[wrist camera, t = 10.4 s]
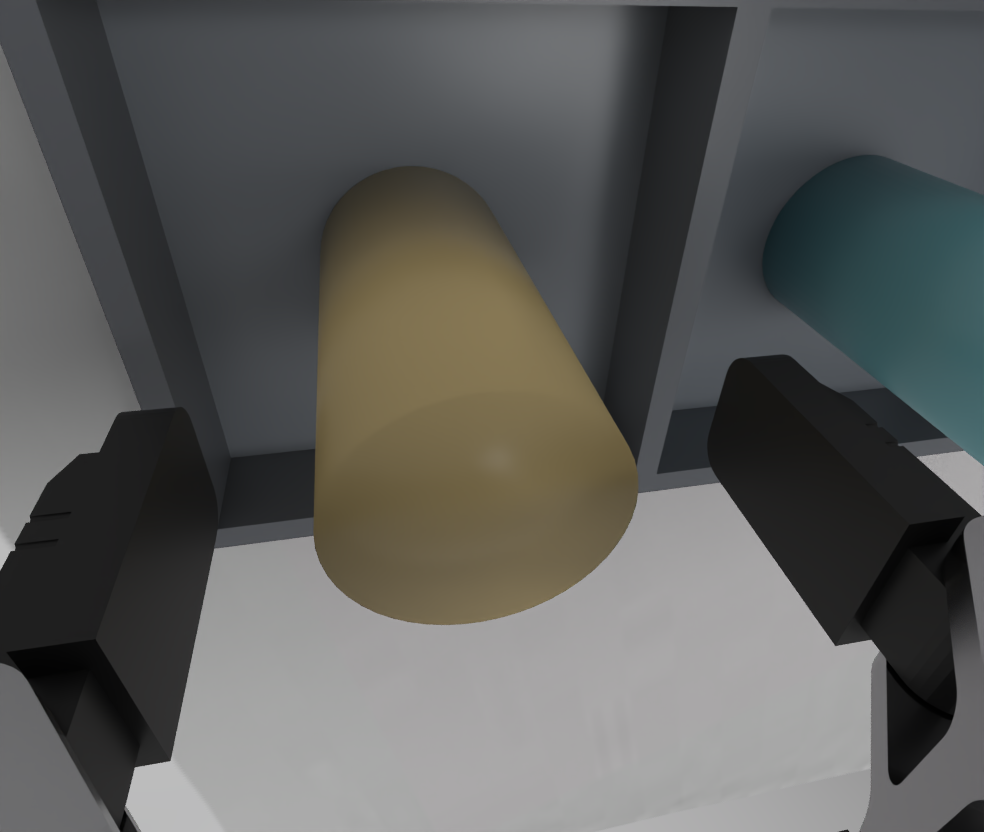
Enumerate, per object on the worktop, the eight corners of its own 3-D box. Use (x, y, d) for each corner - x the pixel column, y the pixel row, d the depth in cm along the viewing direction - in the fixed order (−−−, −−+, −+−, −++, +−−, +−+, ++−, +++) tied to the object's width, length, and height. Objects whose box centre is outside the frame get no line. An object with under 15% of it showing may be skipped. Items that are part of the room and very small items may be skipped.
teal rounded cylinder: (940, 152, 15) (1378, 302, 9) (875, 304, 17) (1182, 507, 11) (790, 157, 14) (1148, 325, 8) (744, 315, 17) (993, 539, 10)
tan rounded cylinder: (505, 162, 13) (666, 373, 7) (499, 331, 15) (613, 599, 9) (306, 169, 12) (284, 411, 6) (333, 345, 15) (337, 645, 9)
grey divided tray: (1115, -30, 14) (1301, -24, 11) (905, 380, 21) (992, 446, 18) (57, -64, 10) (-42, -66, 8) (217, 453, 17) (196, 550, 14)
